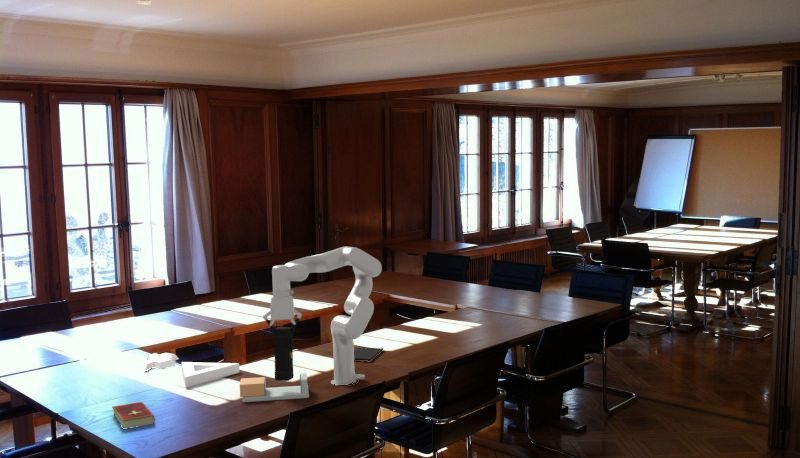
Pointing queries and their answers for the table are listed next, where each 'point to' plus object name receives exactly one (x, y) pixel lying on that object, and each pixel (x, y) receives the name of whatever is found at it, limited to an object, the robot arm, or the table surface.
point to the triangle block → (206, 371)
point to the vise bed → (283, 392)
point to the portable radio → (283, 353)
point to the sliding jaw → (253, 387)
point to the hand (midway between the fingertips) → (283, 333)
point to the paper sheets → (160, 361)
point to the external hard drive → (366, 353)
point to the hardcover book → (133, 415)
